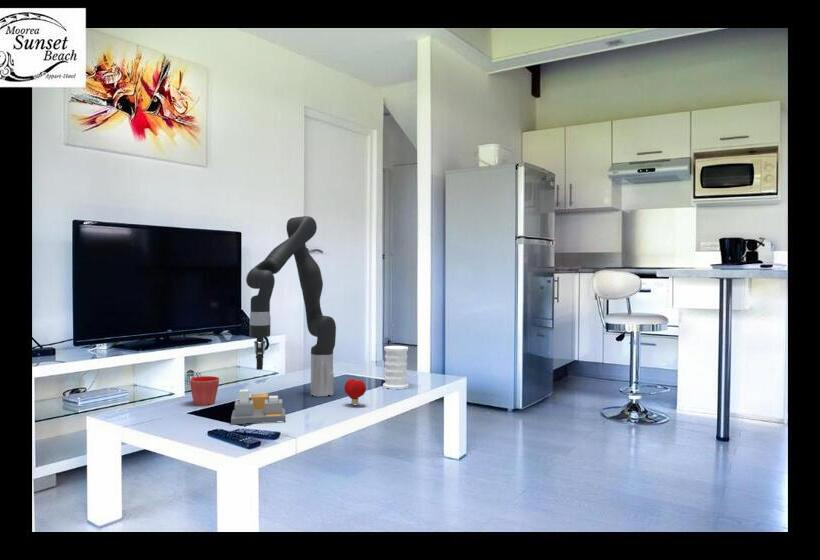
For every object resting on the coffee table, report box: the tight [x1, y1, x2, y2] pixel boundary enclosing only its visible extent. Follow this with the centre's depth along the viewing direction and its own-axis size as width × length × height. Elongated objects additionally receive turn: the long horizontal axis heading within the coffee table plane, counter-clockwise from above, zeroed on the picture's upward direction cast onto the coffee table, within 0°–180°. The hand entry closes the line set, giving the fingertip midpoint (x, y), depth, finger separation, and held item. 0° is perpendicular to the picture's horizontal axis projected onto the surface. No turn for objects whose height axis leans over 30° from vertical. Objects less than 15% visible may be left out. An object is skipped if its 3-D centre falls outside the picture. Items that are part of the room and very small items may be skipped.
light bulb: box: [344, 378, 367, 405], centre depth 229 cm, size 9×7×10 cm
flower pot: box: [189, 375, 220, 406], centre depth 230 cm, size 11×11×10 cm
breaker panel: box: [230, 398, 286, 425], centre depth 208 cm, size 18×12×6 cm, turn 103°
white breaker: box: [268, 395, 279, 403], centre depth 209 cm, size 3×3×6 cm
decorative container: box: [382, 345, 409, 388], centre depth 266 cm, size 12×12×18 cm
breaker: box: [238, 389, 250, 404], centre depth 206 cm, size 3×3×6 cm
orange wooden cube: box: [250, 392, 269, 409], centre depth 220 cm, size 6×6×6 cm
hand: (259, 367), depth 220 cm, fingers open, 7 cm apart
